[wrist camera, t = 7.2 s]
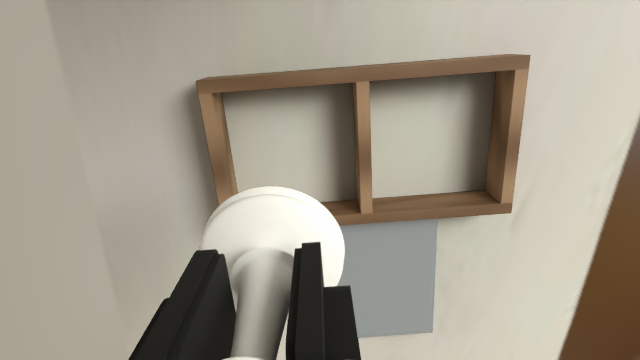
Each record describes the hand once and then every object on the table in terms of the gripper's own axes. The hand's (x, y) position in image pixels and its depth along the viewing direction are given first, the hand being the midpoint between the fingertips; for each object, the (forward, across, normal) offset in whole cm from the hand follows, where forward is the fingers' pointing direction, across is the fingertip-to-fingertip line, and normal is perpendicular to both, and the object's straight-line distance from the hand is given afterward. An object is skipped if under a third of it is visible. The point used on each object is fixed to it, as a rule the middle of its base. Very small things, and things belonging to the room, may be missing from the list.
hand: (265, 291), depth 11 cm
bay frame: (+17, -5, 0) cm, 17 cm away
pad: (+17, -5, +12) cm, 21 cm away
